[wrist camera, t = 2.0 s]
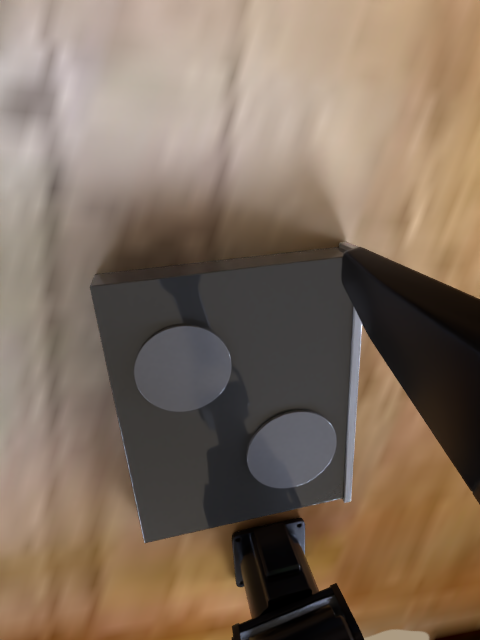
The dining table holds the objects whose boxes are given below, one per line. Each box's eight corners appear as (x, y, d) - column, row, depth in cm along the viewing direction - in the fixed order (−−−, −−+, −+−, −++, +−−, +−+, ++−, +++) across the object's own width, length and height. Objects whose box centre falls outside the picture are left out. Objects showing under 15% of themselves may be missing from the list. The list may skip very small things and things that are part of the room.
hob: (336, 477, 35) (351, 501, 33) (144, 519, 32) (144, 549, 30) (347, 241, 27) (367, 249, 25) (93, 269, 24) (87, 282, 22)
